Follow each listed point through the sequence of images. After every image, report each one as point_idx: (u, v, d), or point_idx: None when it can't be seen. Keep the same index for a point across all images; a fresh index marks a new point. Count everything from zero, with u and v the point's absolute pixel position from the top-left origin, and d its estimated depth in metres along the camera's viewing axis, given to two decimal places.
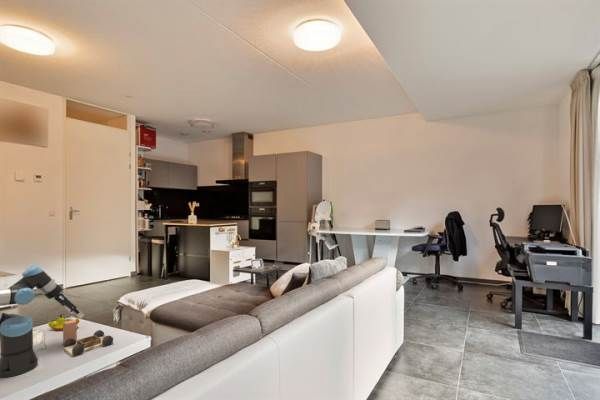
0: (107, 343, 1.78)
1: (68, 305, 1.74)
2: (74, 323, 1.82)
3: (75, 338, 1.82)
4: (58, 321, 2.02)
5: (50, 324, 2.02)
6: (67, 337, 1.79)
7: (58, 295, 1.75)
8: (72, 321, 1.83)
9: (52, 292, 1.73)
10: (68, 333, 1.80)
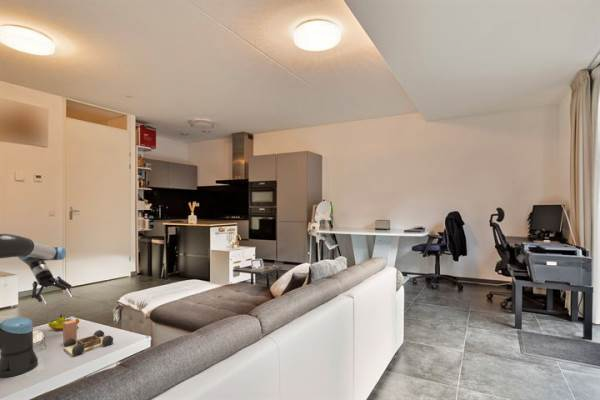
0: (107, 343, 1.78)
1: None
2: (74, 323, 1.82)
3: (75, 338, 1.82)
4: (58, 321, 2.02)
5: (50, 324, 2.02)
6: (67, 337, 1.79)
7: None
8: (72, 321, 1.83)
9: None
10: (68, 333, 1.80)
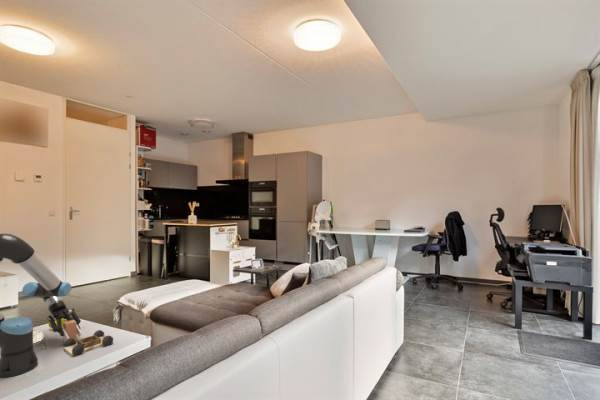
0: (107, 343, 1.78)
1: None
2: (74, 323, 1.82)
3: (75, 338, 1.82)
4: None
5: (50, 324, 2.02)
6: None
7: None
8: (72, 321, 1.83)
9: None
10: (68, 333, 1.80)
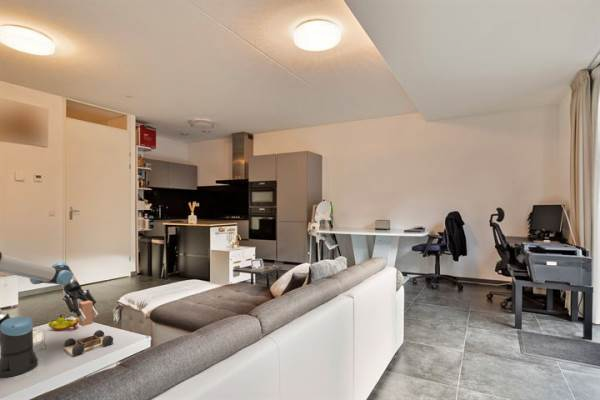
0: (107, 343, 1.78)
1: None
2: (91, 304, 1.80)
3: (91, 319, 1.80)
4: (58, 321, 2.02)
5: (50, 324, 2.02)
6: None
7: None
8: (88, 301, 1.81)
9: None
10: (84, 313, 1.78)
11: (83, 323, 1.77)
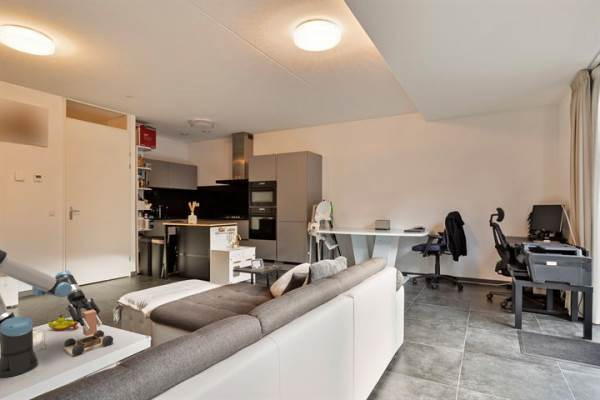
0: (107, 343, 1.78)
1: None
2: (94, 313, 1.78)
3: (95, 328, 1.78)
4: (58, 321, 2.02)
5: (50, 324, 2.02)
6: None
7: None
8: (92, 311, 1.79)
9: None
10: (88, 323, 1.75)
11: (87, 333, 1.75)
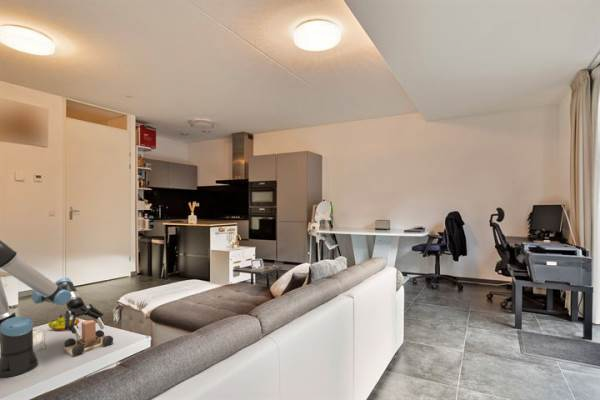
0: (107, 343, 1.78)
1: None
2: (93, 323, 1.77)
3: (94, 338, 1.77)
4: (58, 321, 2.02)
5: (50, 324, 2.02)
6: (86, 337, 1.75)
7: None
8: (91, 321, 1.78)
9: None
10: (87, 333, 1.75)
11: None
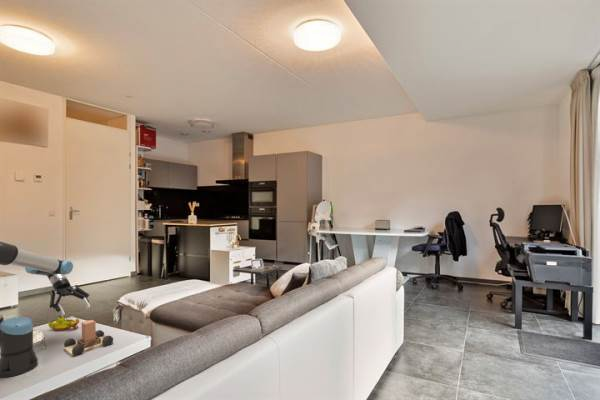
0: (107, 343, 1.78)
1: None
2: (93, 323, 1.77)
3: (94, 338, 1.77)
4: (58, 321, 2.02)
5: (50, 324, 2.02)
6: (86, 337, 1.75)
7: None
8: (91, 321, 1.78)
9: None
10: (87, 333, 1.75)
11: None
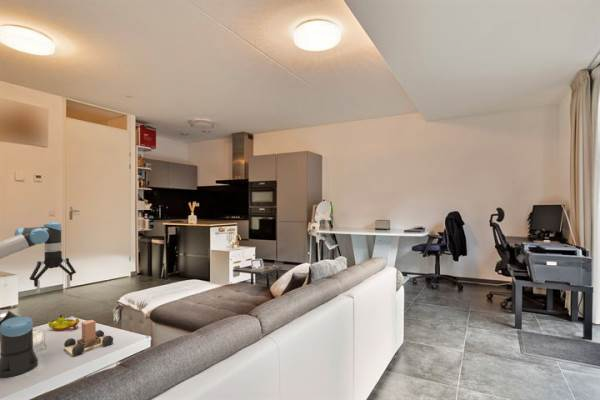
0: (107, 343, 1.78)
1: (72, 267, 1.84)
2: (93, 323, 1.77)
3: (94, 338, 1.77)
4: (58, 321, 2.02)
5: (50, 324, 2.02)
6: (86, 337, 1.75)
7: None
8: (91, 321, 1.78)
9: (61, 251, 1.80)
10: (87, 333, 1.75)
11: None
